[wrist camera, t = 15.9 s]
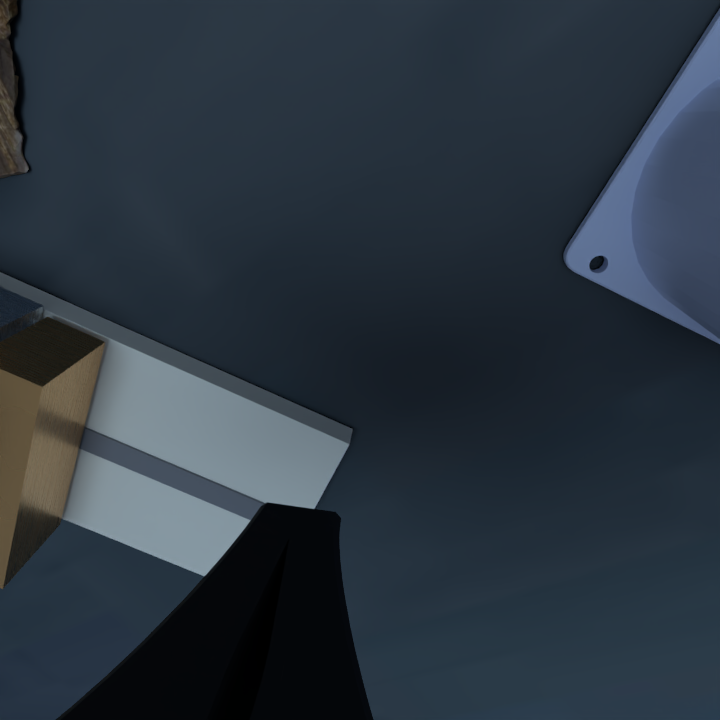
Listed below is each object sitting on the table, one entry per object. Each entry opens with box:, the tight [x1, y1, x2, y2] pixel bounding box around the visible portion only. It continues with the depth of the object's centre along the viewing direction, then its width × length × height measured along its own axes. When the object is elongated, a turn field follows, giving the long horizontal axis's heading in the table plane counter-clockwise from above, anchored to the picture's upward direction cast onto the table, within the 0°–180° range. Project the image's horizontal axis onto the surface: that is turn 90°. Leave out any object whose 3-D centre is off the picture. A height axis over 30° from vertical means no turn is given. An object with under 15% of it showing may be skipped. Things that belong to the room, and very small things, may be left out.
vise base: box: [0, 272, 353, 576], centre depth 18 cm, size 18×9×4 cm, turn 66°
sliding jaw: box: [0, 317, 105, 589], centre depth 18 cm, size 2×9×3 cm, turn 156°
